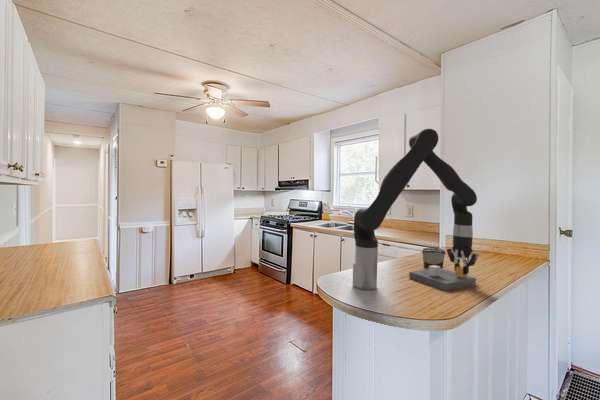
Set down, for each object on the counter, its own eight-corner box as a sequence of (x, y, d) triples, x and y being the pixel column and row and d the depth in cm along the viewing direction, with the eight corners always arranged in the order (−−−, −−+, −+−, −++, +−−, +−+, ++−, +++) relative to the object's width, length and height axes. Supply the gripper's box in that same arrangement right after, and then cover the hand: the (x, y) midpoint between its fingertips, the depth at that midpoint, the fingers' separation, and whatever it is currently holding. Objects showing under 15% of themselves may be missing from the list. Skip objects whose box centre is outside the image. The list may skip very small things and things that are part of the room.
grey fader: (434, 276, 122) (434, 267, 122) (428, 274, 125) (428, 266, 125) (440, 275, 124) (440, 266, 124) (434, 273, 127) (434, 265, 127)
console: (446, 291, 114) (446, 283, 114) (409, 278, 131) (409, 271, 131) (475, 284, 123) (475, 277, 123) (437, 273, 140) (437, 267, 140)
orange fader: (461, 277, 122) (461, 268, 121) (455, 275, 124) (455, 266, 124) (467, 276, 123) (467, 267, 123) (460, 274, 126) (460, 266, 126)
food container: (440, 266, 154) (441, 248, 154) (445, 269, 148) (446, 250, 148) (417, 265, 156) (418, 247, 155) (421, 268, 150) (422, 249, 149)
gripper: (442, 233, 128) (441, 270, 128) (473, 237, 115) (472, 278, 116) (453, 232, 131) (451, 268, 132) (484, 236, 119) (482, 276, 119)
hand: (461, 273), depth 124 cm, fingers closed on orange fader, 3 cm apart
